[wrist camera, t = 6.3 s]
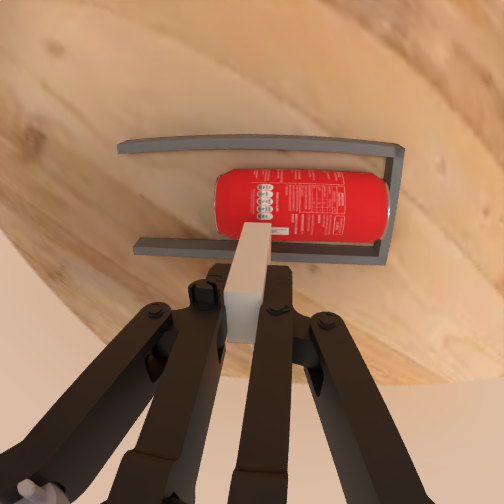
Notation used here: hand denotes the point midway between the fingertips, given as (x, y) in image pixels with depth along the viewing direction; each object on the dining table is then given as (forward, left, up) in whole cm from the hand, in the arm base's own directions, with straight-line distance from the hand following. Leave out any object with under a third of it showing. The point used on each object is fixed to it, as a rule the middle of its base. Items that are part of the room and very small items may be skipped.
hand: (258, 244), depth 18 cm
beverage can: (-3, -2, -6) cm, 7 cm away
